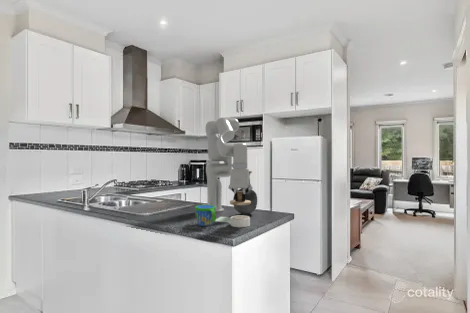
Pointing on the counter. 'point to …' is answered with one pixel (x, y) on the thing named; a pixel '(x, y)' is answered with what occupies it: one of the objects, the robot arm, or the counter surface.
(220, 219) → the mat
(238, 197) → the lid
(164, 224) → the counter surface
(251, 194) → the pitcher
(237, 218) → the bowl
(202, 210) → the snack cup
